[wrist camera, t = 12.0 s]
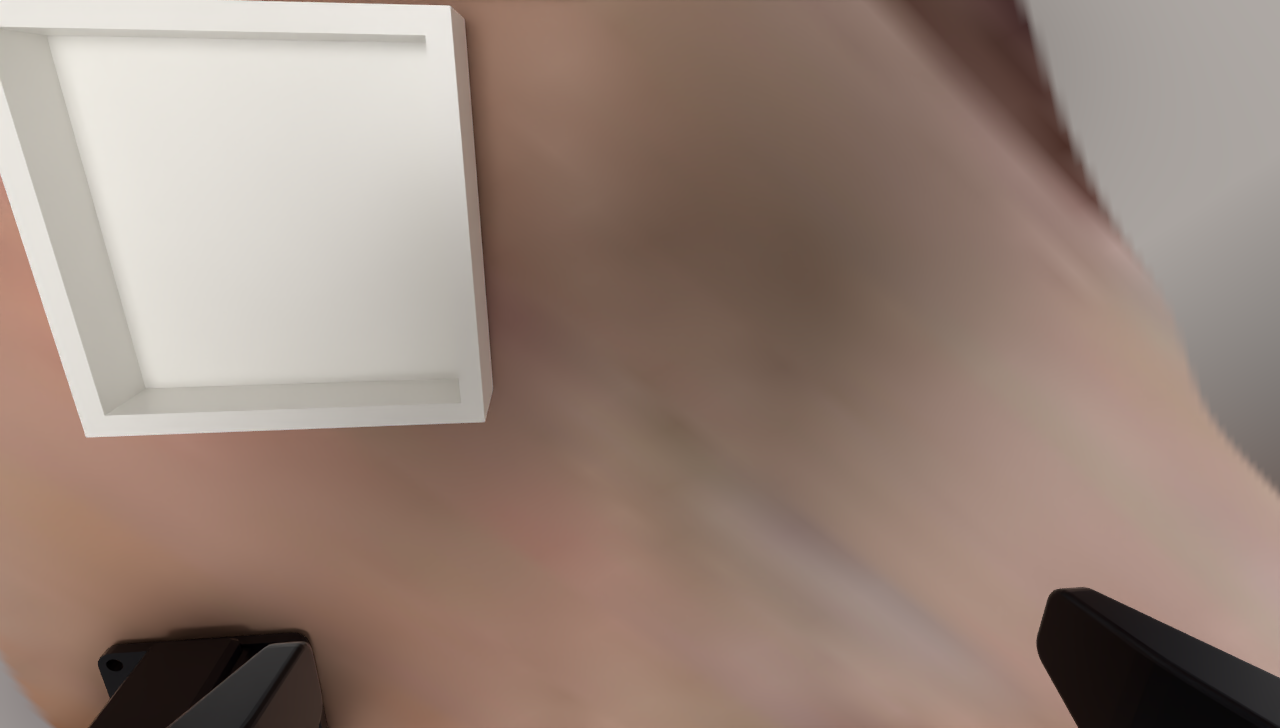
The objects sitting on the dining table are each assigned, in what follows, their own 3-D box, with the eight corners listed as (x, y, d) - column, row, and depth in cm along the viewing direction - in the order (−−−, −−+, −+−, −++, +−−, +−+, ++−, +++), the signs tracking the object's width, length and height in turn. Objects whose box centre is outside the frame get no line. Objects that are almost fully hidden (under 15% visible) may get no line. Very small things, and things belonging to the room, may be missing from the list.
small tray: (493, 389, 20) (485, 422, 18) (139, 401, 19) (86, 437, 17) (464, 19, 17) (450, 5, 15) (26, 9, 16) (-59, -7, 14)
